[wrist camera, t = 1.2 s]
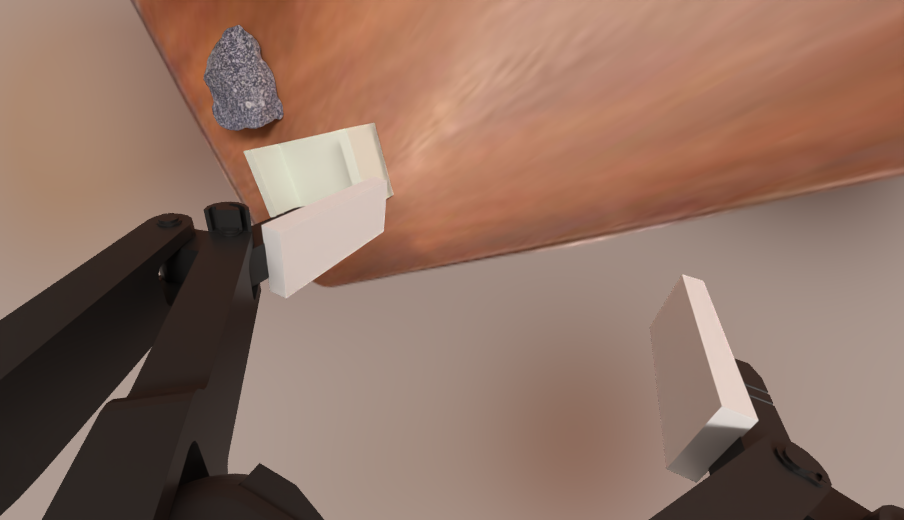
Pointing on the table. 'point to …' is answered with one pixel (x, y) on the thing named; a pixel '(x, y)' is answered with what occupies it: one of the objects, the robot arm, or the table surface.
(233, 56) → the rock
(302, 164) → the u rest
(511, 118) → the table surface
